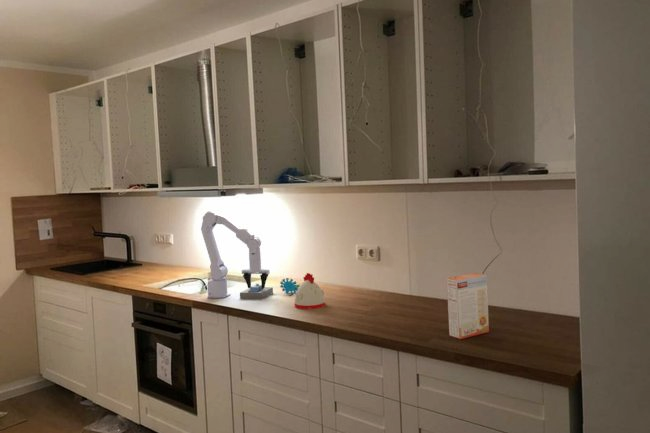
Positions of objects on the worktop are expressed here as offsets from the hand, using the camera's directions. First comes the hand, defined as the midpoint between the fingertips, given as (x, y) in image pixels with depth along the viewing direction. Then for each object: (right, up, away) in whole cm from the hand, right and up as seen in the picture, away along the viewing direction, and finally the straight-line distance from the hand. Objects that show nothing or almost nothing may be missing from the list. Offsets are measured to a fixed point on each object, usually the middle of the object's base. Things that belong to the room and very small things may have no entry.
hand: (256, 287), depth 264 cm
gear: (+17, -4, +3) cm, 18 cm away
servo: (0, -4, 0) cm, 4 cm away
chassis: (0, -4, 0) cm, 4 cm away
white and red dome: (+28, -5, -26) cm, 38 cm away
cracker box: (+86, -6, -80) cm, 118 cm away
